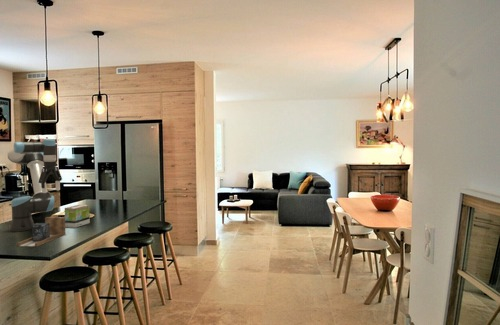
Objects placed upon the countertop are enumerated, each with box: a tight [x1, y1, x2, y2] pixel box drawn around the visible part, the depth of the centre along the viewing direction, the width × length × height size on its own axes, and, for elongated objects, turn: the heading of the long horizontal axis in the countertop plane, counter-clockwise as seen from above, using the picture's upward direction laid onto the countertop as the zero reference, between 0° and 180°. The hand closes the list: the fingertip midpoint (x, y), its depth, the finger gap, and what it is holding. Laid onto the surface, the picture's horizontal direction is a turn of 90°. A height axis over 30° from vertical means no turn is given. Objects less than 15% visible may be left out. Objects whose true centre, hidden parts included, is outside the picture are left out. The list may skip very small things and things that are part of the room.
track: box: [16, 216, 66, 248], centre depth 205 cm, size 13×26×12 cm, turn 175°
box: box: [31, 222, 50, 241], centre depth 204 cm, size 8×6×11 cm
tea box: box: [64, 204, 91, 229], centre depth 243 cm, size 15×10×15 cm
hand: (51, 191), depth 223 cm, fingers open, 13 cm apart
